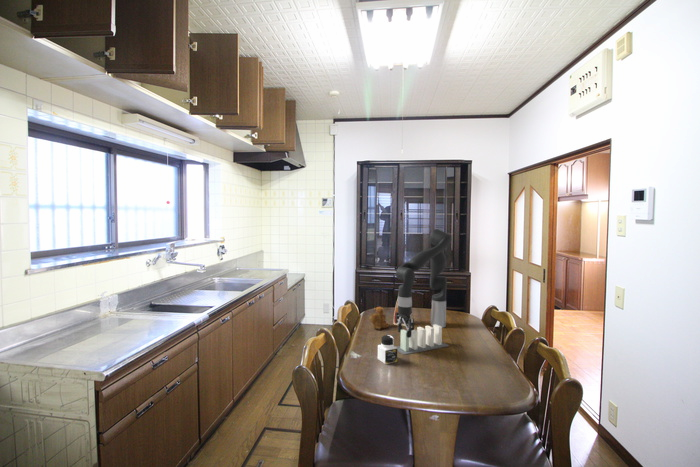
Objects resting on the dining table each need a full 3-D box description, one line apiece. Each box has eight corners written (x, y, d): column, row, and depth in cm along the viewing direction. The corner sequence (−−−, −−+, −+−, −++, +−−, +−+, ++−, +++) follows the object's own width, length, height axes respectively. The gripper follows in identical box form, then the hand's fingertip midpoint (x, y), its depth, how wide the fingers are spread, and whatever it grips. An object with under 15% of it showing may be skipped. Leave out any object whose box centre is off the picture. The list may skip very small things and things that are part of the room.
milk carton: (393, 324, 210) (393, 294, 209) (396, 320, 218) (396, 292, 218) (406, 326, 206) (407, 296, 206) (409, 322, 215) (409, 293, 214)
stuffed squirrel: (390, 325, 207) (390, 306, 206) (381, 332, 195) (381, 311, 194) (376, 323, 212) (376, 304, 211) (367, 329, 199) (367, 309, 199)
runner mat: (393, 347, 170) (393, 347, 170) (436, 339, 182) (437, 339, 182) (403, 355, 161) (403, 354, 161) (448, 346, 173) (448, 345, 173)
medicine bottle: (385, 364, 150) (385, 340, 149) (377, 358, 156) (377, 335, 156) (397, 361, 153) (397, 337, 152) (389, 356, 159) (389, 333, 159)
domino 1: (403, 347, 170) (403, 329, 169) (408, 350, 165) (409, 332, 165) (400, 348, 169) (400, 329, 168) (405, 351, 164) (405, 332, 164)
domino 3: (422, 348, 169) (423, 330, 168) (417, 344, 173) (417, 327, 173) (425, 347, 170) (426, 329, 169) (420, 344, 174) (420, 326, 174)
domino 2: (414, 349, 166) (414, 331, 166) (408, 346, 171) (409, 328, 171) (417, 349, 167) (417, 330, 167) (411, 345, 172) (412, 328, 172)
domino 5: (438, 345, 173) (439, 327, 173) (432, 342, 178) (433, 324, 178) (441, 344, 174) (441, 326, 174) (435, 341, 179) (436, 324, 178)
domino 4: (430, 346, 171) (431, 328, 171) (425, 343, 176) (425, 325, 175) (433, 346, 172) (434, 328, 172) (427, 342, 176) (428, 325, 176)
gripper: (418, 307, 161) (418, 338, 162) (403, 300, 174) (402, 329, 175) (406, 308, 158) (406, 340, 159) (391, 302, 171) (391, 331, 172)
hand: (404, 334), depth 167 cm, fingers open, 8 cm apart
